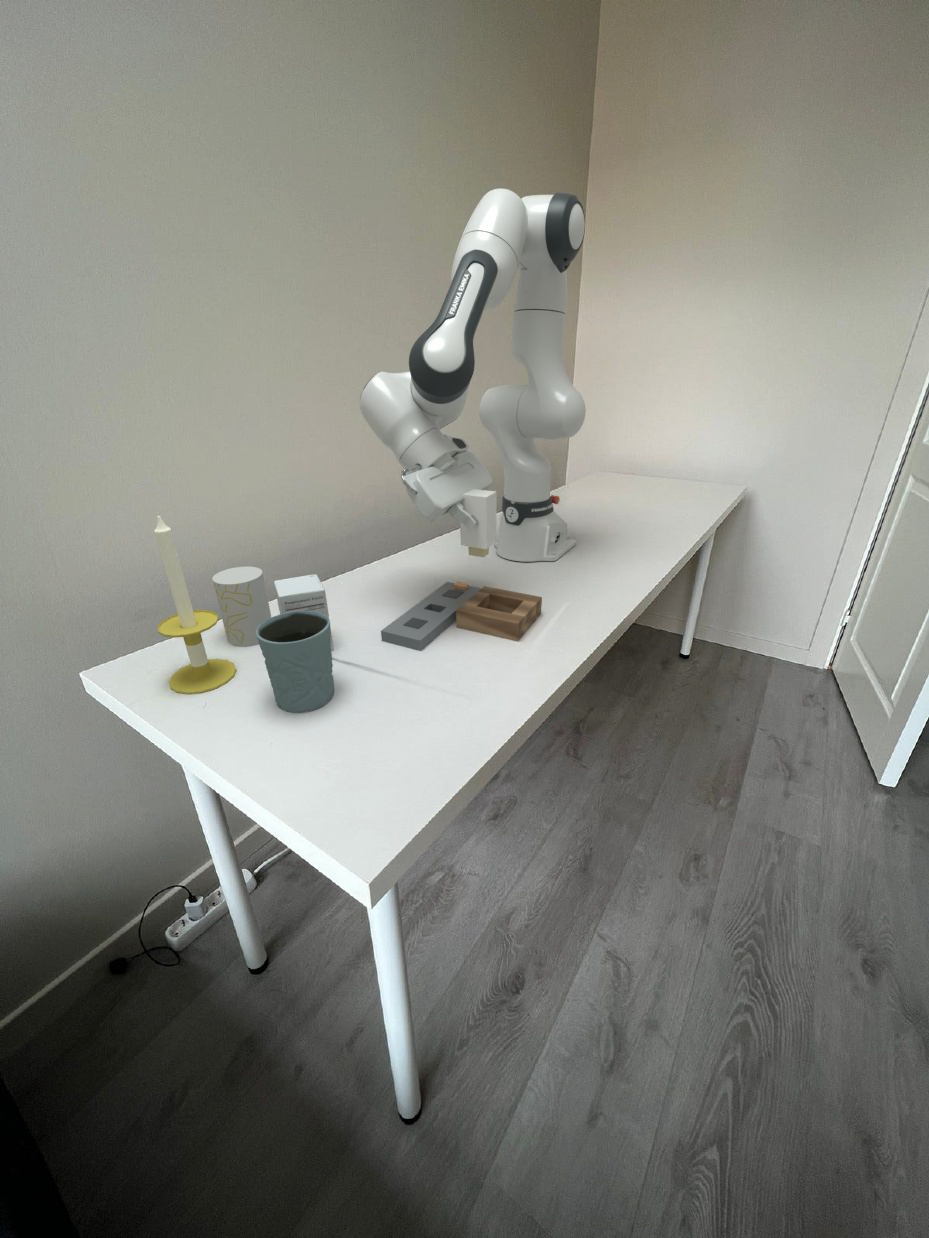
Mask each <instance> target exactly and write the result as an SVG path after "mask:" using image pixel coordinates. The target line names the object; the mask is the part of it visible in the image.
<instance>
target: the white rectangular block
mask: <svg viewBox="0 0 929 1238" xmlns="http://www.w3.org/2000/svg"><path fill="white" fill-rule="evenodd" d="M463 496H464V500H462V501H460V503H461V505H462V506H463V507H464V508H463V510H465V511H466V512H467V513H469V514H470V515H474V516H475V517H476V519H477V520H478V521H479V523H478V525H476V526H475V527H474V528H473V529H471V530H468V529H467V527H466V526H465V525H464V524H463V523H461V522H460V521H459V526H460V527H459V528H460V530H459V531H460V532H459V533H460V535H459V537H460V545H461V546H464V547H468V556H474V557H479V558H485V557H486V556H488V555H489V554H490V553H489V551H490V549H489V548H490V547H491V546H493V545H495V543H496V541H497V500H498V499H497V498H498V497H497V491H496V490H488V489H487V490H478V489H473V490H471V491H469V492H467V493H465V494H463Z"/></svg>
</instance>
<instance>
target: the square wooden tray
mask: <svg viewBox="0 0 929 1238" xmlns="http://www.w3.org/2000/svg"><path fill="white" fill-rule="evenodd" d="M481 588H482V589H481V590H479V591H478V592H477V593H476V594H475V595H473V596H472V597H471V598H470V599H469V600H468V601H466V602H465V603H464V604H463V605H462V606H461V607H459V608H458V609H457V610H456V621H455V623H456V629H461V630H465V631H469V632H475V633H480V634H483V635H487V636H491V637H496V638H500V639H504V640H507V641H513V642H517V643H518V642H519V641H520V639H521V638H522V637H523V636H524V635H525V633H526V632H527V631H528V630H529V629H530V627H531V626H532V625H534V623H535V622H536V620H537V619H538V618H539V617H540V616H541V615H542V604H543V603H542V602H543V596H538V595H533V594H527V593H522V592H518V591H517V592H516V591H512V590H509V589H508V590H507V589H502V588H495V587H491V586H486V585H485V586H483V587H481Z"/></svg>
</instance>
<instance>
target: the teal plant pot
mask: <svg viewBox="0 0 929 1238" xmlns="http://www.w3.org/2000/svg"><path fill="white" fill-rule="evenodd" d="M330 627H331V620H330V617H329V618H328V617H327V616H325V615H324V614H322V613H318V612H314V611H294V612H288V613H283V614H280V613H279V614H277V615H274V616H271V618H270V619H268V620H266V621H264V622H263V623H262V624H260V625H259V626H258V628H257V630H256V636H257V639H258V642H259V644H258V645H259V647H260V648H259V649H260V650H261V655H262V657H263V658H264V664H265V669H266V671H267V675H268V678H269V681H270V685H271V688H272V692H273V695H274V699H275V702H276V705H277V706H278V707H279V708H280V709H282V710H283V711H284V712H288V713H293V714H303V713H309V712H314V711H315V710H319V709H320V708H322V707H324V706H326V705H327V704H328V703H329V702H331V700H332V698H333V697H334V695H335V682H334V681H335V680H334V675H333V667H334V666H333V654H332V651H331V643H330V639H331V635H332V630H331V631H330Z"/></svg>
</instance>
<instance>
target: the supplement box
mask: <svg viewBox="0 0 929 1238" xmlns="http://www.w3.org/2000/svg"><path fill="white" fill-rule="evenodd" d="M273 583H274V590H275V594H276V600H277V605H278V610H279V615H280V614H283V613H288V612H294V611H314V612H318V613H322V614H324V615H325V616H327V617H328V618H329V619H330V615H329V608H328V599H327V595H326V589H325V587H324V586H323V584H322V582H321V580H320V577H319V576H318V574H314V573H313V574H307V575H301V576H296V577H290V578H289V577H288V578H285V579H284V578H283V579H278V580H274V581H273ZM330 631H331V632H332V629H331V626H330ZM333 642H334V641H333V635H332V634H331V639H330V643H331V652H333V651H335V649H334V643H333Z"/></svg>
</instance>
